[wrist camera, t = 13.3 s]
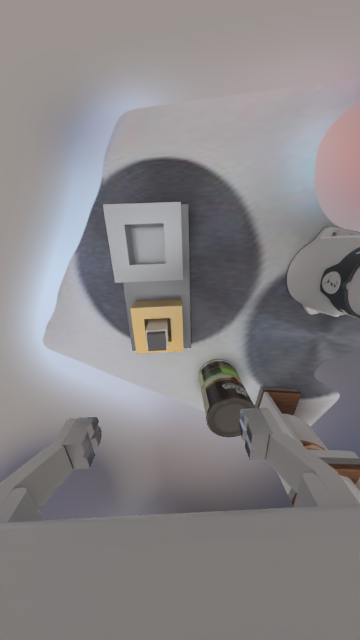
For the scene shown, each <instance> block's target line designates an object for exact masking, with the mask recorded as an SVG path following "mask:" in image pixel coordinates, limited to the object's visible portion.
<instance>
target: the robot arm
mask: <svg viewBox="0 0 360 640" xmlns="http://www.w3.org/2000/svg"><path fill="white" fill-rule="evenodd" d="M333 232H334V235H333ZM287 287H288V290H289V293H290V294H291V296H292V297H293V298H294V299H295V300H296V301H298V302H299V303H301V304H302V306H303V308H304V310H305V311H306V313H308V314H317V313H321V312H322V313H325V314H328V315H331V316H335V317H338V316H339V315H345V314H347V315H349V316H352V317H355V318H360V232H357V231H351V230H346V229H341V228H336V227H326V228H324V229H323V230H322V231H321V232H320V233H319V235H318V236H317V237H316V239H315V240H314V241H312V242H311V243H309V244H308V245H306V246H305V247H304V248H303V249H301V250H300V251H299V252H298V254H297V255H296V256H295V257H294V259H293V260H292V262H291V264H290V267H289V269H288V273H287ZM240 416H241V419H240V420H239V428H240V433H241V436H242V439H243V440H244V441H245V448H246V451H247V454H248V457H249V460H253V459H254V460H255V459H266V461H267V462H268V463H269V464H270V465H271V466H272V467H273V468H274V469H275V470H276V472H277V473H278V474H279V475H280V476H281V477H282V478H283V479H284V480H285V481H286V482H287V483H288V485H289V486H290V487H291V488H292V489H293V490H294V491H295V492H296V493H297V496H296V500H295V503H294V506H293V508H276V509H257V510H237V511H218V512H198V513H178V514H159V515H141V516H121V517H103V518H82V519H63V520H44V519H43V516H42V515H41V513H40V511H39V509H40V508H41V506H42V505H43V504H44V503H45V502H46V501H47V500H48V499H49V497H50V496H51V495H52V494H53V493H54V492H55V491H56V490H57V488H58V487H59V486H60V485H61V484H62V483H63V482H64V481H65V479H66V478H67V477H68V476H69V475H70V474H71V473H72V472H73V469H84V468H90V467H91V464H92V462H93V459H94V456H95V453H94V450H95V449H96V448H97V447H98V446H99V444H100V440H101V428H100V427H99V426H98V422H99V421H98V419H97V417H88V418H69V419H68V420H67V421H66V422H65V424H64V426H63V427H62V429H61V431H60V432H59V434H58V435H57V437H56V438H55V440H54V442H53V443H52V445H51V446H48V447H46V448H45V449H44V450H42V451H41V452H40V453H39V454H37V455H36V456H35V457H33V458H32V459H31V460H30V461H28V462H27V463H26V464H24V465H23V466H22V467H20V468H19V469H18V470H17V471H15V472H14V473H13V474H11V475H10V476H9V477H8V478H6V479H5V480H4V481H2V482H1V483H0V640H360V503H359V502H358V500H357V499H356V498H355V496H354V495H353V493H352V492H351V490H350V489H349V488H348V486H347V485H346V483H345V482H344V481H343V479H342V478H341V476H340V475H339V474H338V472H337V471H336V470H335V469H334V468H332V467H331V466H330V465H328V464H327V463H325V462H324V461H323V460H321V459H320V458H319V457H317V456H316V455H315V454H313V453H312V452H311V451H309V450H308V449H306V448H305V447H304V446H302V445H301V444H300V443H298V442H297V441H296V440H294V439H293V438H292V437H290V436H289V435H287V434H283V432H282V430H281V428H280V427H279V425H278V423H277V421H276V420H275V418H274V416H273V415H272V413H271V411H270V409H269V408H251V409H241V410H240Z"/></svg>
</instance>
